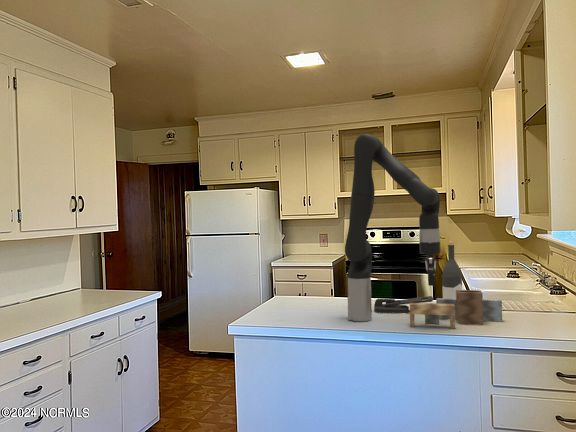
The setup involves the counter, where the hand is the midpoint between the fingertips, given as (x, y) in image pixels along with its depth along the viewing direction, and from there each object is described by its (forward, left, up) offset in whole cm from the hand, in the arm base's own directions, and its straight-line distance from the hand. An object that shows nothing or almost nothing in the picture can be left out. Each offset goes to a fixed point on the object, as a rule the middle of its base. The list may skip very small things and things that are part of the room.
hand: (431, 283), depth 168 cm
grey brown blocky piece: (+14, +9, -16) cm, 23 cm away
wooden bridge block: (0, 0, -16) cm, 16 cm away
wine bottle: (+9, +28, -17) cm, 34 cm away
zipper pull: (-12, +23, -17) cm, 31 cm away
